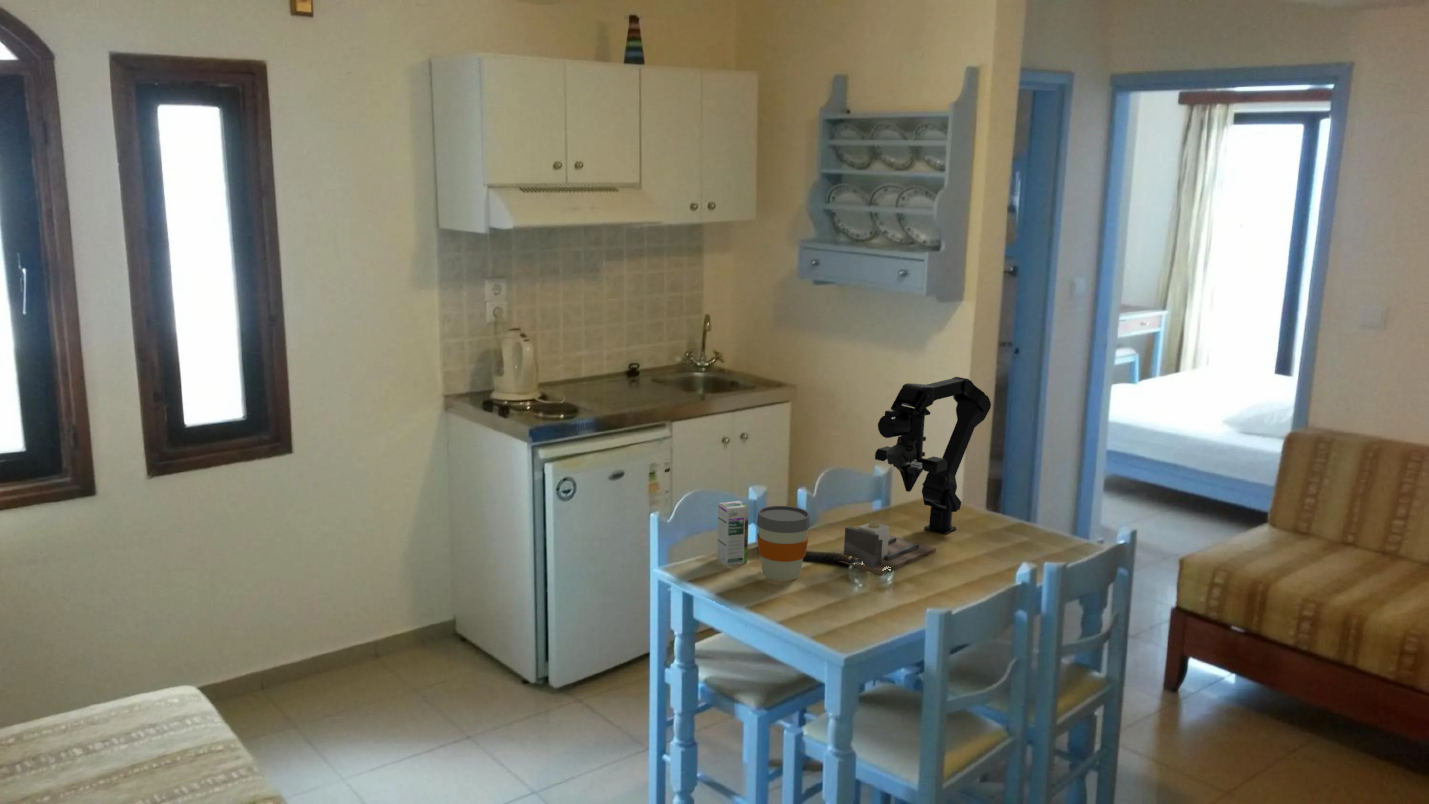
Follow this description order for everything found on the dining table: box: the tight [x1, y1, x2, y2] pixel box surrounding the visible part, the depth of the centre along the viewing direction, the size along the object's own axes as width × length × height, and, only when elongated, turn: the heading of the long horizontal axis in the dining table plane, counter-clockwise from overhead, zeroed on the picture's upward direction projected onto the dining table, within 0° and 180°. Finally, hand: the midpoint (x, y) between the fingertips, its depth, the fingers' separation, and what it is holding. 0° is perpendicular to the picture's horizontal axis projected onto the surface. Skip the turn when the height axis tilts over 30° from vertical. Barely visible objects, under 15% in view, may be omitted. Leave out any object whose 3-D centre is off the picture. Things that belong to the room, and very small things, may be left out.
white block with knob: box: [857, 519, 890, 560], centre depth 267 cm, size 6×5×9 cm
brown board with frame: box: [834, 526, 937, 576], centre depth 272 cm, size 24×14×9 cm, turn 137°
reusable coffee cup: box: [756, 505, 811, 582], centre depth 257 cm, size 13×13×15 cm
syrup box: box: [716, 500, 749, 567], centre depth 264 cm, size 6×6×14 cm
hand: (908, 491), depth 283 cm, fingers closed
